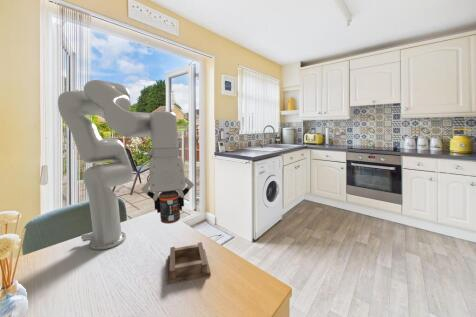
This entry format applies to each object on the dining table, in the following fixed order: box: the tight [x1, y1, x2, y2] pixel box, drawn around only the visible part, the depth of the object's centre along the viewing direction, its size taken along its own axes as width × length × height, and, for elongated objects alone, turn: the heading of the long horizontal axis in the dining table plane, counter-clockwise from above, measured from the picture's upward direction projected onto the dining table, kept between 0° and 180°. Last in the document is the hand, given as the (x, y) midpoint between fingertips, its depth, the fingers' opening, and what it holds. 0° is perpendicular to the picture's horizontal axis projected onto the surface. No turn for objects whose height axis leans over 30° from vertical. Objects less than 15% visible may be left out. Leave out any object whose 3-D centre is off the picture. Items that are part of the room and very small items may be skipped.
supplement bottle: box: [158, 191, 181, 224], centre depth 66 cm, size 6×6×11 cm
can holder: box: [166, 241, 212, 285], centre depth 69 cm, size 13×13×4 cm
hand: (170, 209), depth 66 cm, fingers closed on supplement bottle, 6 cm apart
